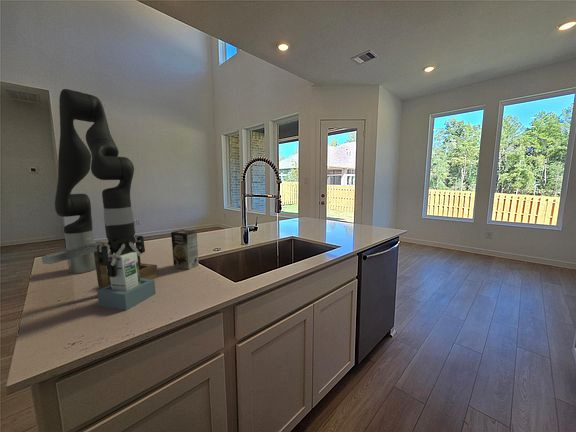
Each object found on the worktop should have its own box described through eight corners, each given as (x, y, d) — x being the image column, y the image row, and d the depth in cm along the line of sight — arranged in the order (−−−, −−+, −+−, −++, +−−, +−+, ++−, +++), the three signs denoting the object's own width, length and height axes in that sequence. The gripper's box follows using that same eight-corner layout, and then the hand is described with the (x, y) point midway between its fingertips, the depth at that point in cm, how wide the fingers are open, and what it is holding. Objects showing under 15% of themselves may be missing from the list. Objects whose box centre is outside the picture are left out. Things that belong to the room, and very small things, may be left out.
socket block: (89, 294, 83) (83, 250, 81) (135, 274, 101) (131, 238, 98) (114, 298, 80) (109, 253, 78) (157, 276, 98) (154, 239, 95)
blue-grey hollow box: (99, 305, 75) (97, 290, 75) (130, 290, 86) (128, 276, 85) (126, 310, 73) (124, 294, 72) (155, 293, 83) (154, 279, 82)
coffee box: (173, 267, 108) (170, 232, 105) (184, 262, 114) (181, 229, 111) (188, 270, 104) (186, 233, 102) (199, 265, 110) (197, 230, 108)
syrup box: (127, 301, 76) (122, 256, 74) (112, 299, 77) (106, 255, 75) (142, 293, 81) (137, 251, 79) (127, 291, 82) (122, 250, 80)
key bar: (42, 264, 67) (40, 255, 67) (100, 248, 83) (99, 241, 82) (51, 265, 66) (49, 256, 66) (108, 249, 82) (107, 241, 81)
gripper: (130, 217, 83) (135, 263, 86) (86, 225, 70) (93, 279, 72) (148, 218, 81) (152, 265, 84) (106, 226, 68) (113, 281, 70)
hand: (125, 271), depth 78 cm, fingers open, 8 cm apart
